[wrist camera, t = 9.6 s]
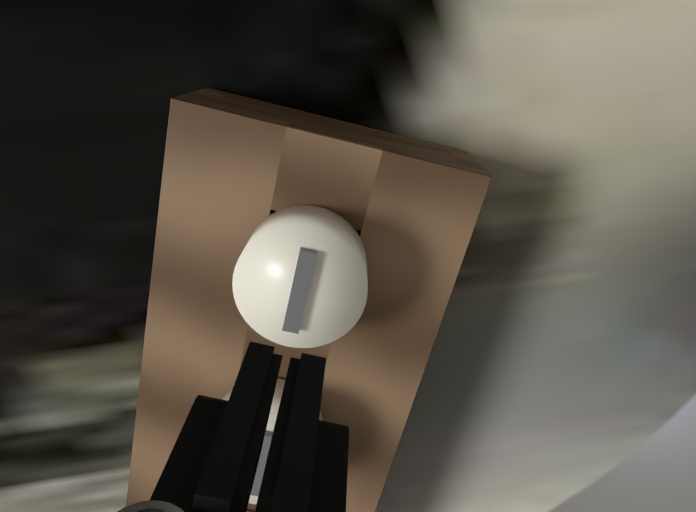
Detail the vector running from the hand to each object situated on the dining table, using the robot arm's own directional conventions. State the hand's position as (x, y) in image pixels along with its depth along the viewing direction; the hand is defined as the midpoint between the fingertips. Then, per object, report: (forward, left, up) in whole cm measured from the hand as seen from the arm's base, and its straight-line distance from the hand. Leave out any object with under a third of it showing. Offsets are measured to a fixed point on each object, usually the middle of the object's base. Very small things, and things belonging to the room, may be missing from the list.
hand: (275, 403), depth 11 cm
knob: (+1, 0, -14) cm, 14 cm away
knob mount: (+9, 0, -15) cm, 18 cm away
